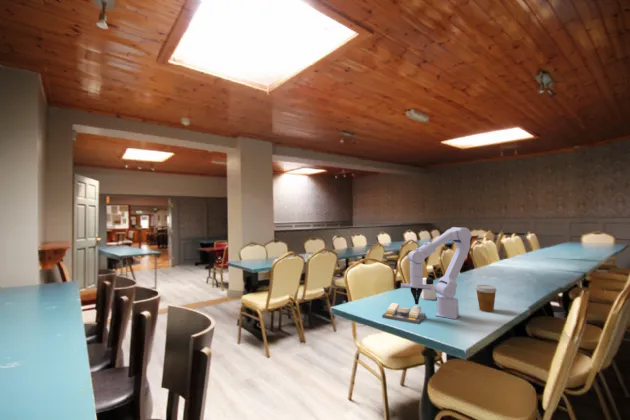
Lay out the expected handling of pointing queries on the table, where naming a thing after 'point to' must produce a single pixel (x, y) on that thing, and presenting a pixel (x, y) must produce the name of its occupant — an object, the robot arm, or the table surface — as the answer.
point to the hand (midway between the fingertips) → (416, 303)
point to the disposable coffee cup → (486, 297)
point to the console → (404, 317)
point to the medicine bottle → (428, 293)
